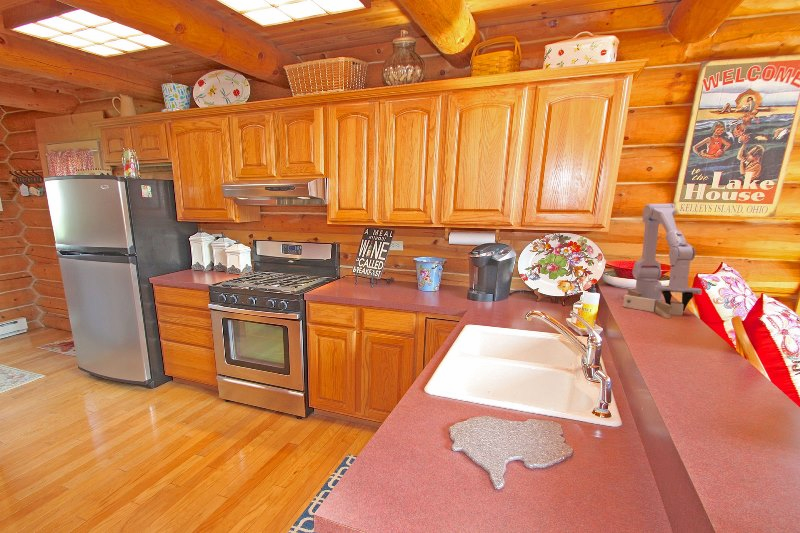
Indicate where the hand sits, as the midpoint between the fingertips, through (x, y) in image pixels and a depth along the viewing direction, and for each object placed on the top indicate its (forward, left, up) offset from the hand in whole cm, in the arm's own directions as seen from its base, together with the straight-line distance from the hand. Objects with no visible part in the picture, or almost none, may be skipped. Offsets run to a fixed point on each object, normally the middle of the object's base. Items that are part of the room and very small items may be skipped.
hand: (675, 310), depth 140 cm
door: (+11, -5, -1) cm, 12 cm away
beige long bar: (+6, -7, -1) cm, 10 cm away
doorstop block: (0, 0, -2) cm, 2 cm away
